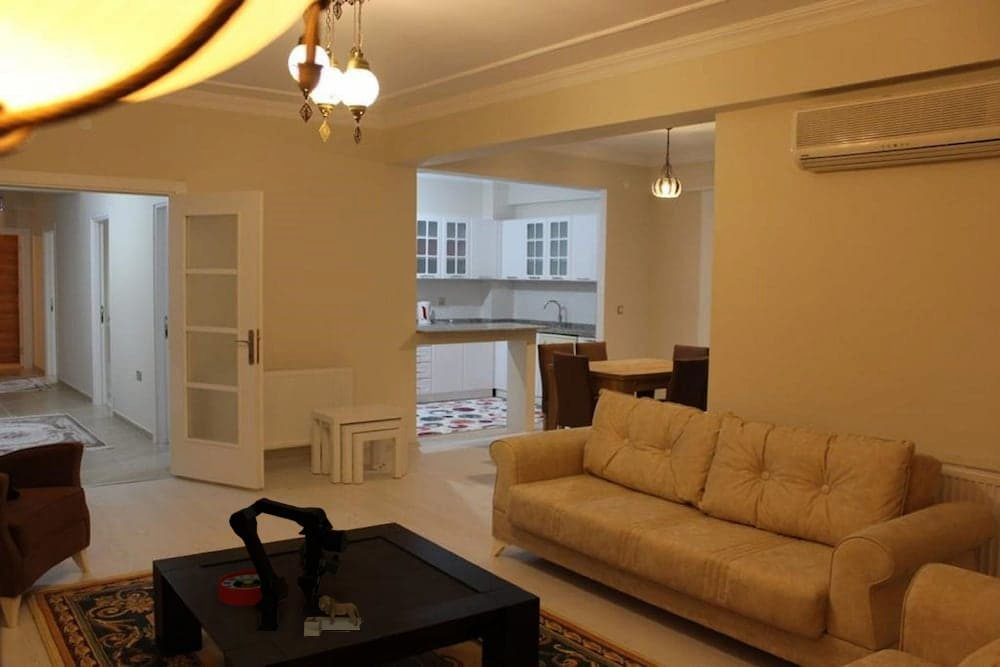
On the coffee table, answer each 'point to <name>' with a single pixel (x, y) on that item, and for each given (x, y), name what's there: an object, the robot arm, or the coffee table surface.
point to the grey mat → (339, 624)
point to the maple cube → (313, 626)
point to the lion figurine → (338, 609)
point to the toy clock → (240, 588)
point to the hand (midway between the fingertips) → (312, 597)
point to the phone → (311, 604)
